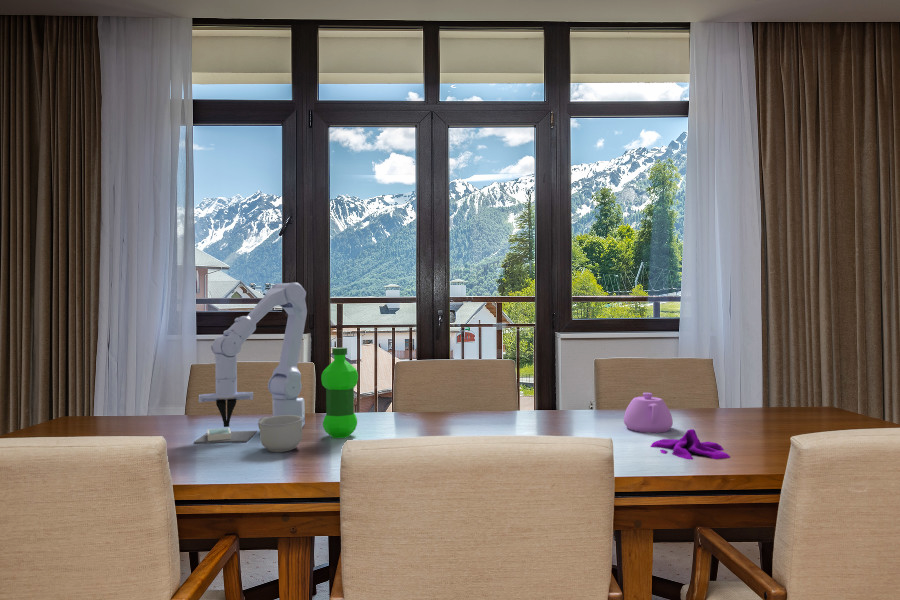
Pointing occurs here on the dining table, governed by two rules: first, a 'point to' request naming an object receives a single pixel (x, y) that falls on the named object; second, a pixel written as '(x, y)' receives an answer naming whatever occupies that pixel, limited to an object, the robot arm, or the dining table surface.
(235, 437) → the mat
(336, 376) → the plastic bottle
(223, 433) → the tile
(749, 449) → the dining table surface
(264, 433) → the teacup
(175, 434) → the dining table surface
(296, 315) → the robot arm
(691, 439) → the cloth
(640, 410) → the teapot
